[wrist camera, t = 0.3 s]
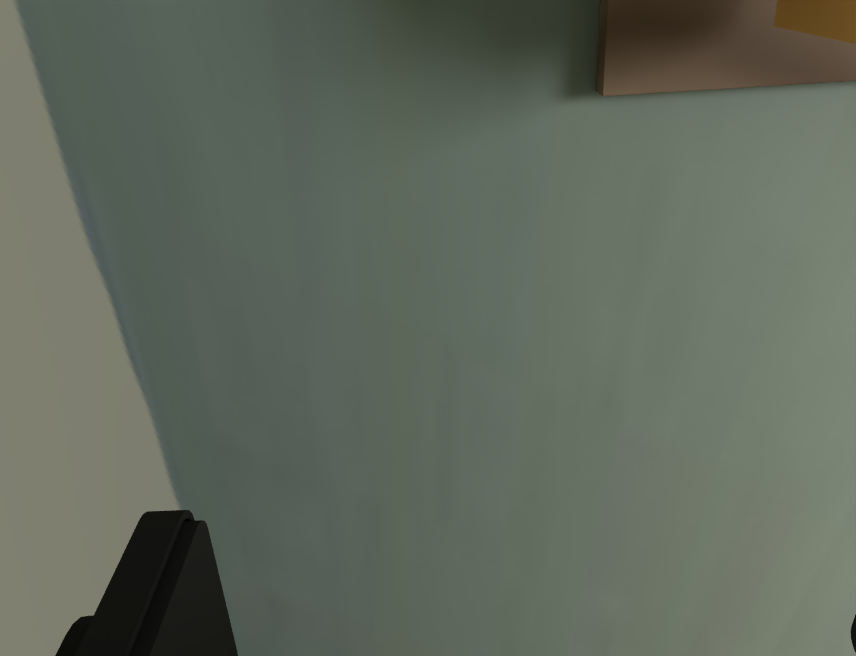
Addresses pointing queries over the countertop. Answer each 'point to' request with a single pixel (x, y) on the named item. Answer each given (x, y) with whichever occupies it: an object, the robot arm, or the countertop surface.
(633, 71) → the pipe stand
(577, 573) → the countertop surface
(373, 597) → the countertop surface
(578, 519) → the countertop surface
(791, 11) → the collar
